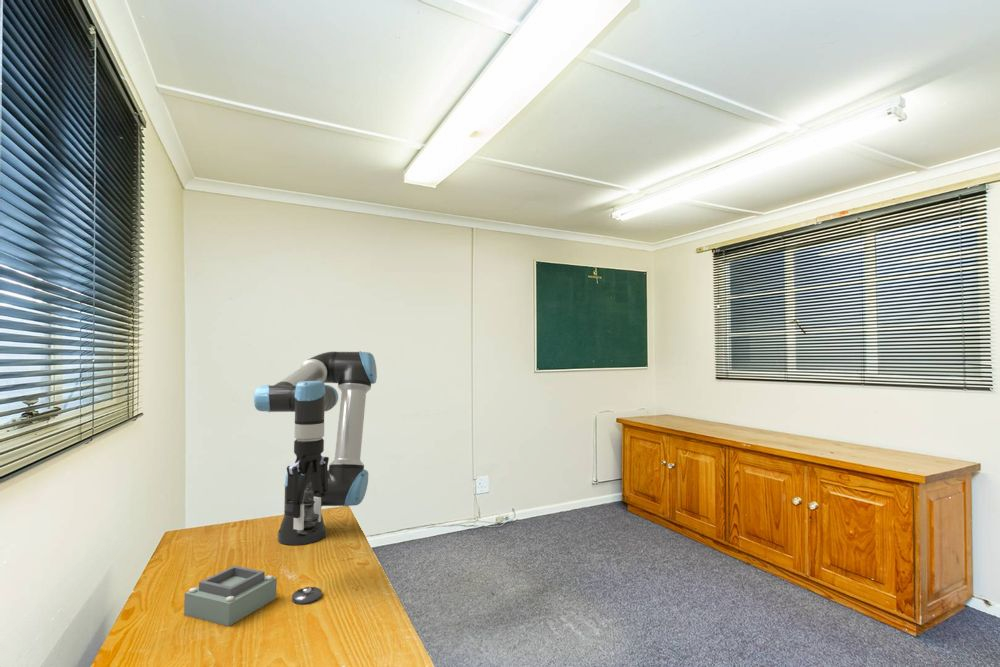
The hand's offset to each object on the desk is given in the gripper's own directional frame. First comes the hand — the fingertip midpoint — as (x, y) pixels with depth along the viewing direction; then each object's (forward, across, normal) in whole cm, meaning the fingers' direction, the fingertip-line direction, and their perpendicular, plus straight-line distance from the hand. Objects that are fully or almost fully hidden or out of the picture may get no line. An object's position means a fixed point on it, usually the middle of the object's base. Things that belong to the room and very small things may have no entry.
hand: (307, 524), depth 132 cm
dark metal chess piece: (+2, 0, 0) cm, 2 cm away
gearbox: (+16, +16, -10) cm, 24 cm away
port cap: (+16, +6, +5) cm, 17 cm away
